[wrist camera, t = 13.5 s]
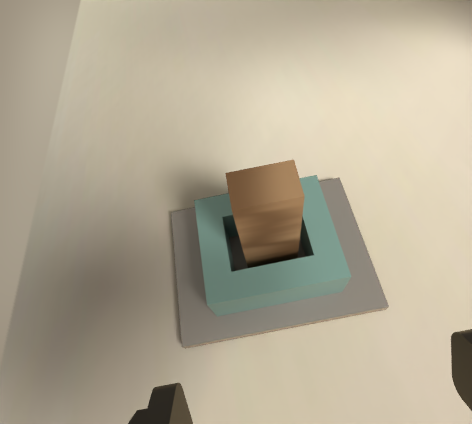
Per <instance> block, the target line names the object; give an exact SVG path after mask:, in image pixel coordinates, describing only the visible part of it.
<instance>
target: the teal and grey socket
mask: <svg viewBox="0 0 472 424" xmlns="http://www.w3.org/2000/svg"><path fill="white" fill-rule="evenodd" d="M300 182H301V186H302V189H303V193H304V196H305V197H304V206H303V215H302V224H301V232H300V241H299V250H298V258H297V259H292V260H287V261H282V262H277V263H272V264H267V265H262V266H257V267H252V268H248V266H247V263H246V259H245V256H244V252H243V249H242V245H241V242H240V238H239V234H238V231H237V227H236V224H235V220H234V217H233V213H232V209H231V203H230V197H229V193H227V194H223V195H218V196H213V197H208V198H203V199H198V200H194V202H195V207H194V208H189V209H184V210H180V211H175V212H171V218H172V230H173V243H174V255H175V267H176V280H177V292H178V304H179V317H180V329H181V342H182V347H183V348H190V347H196V346H201V345H206V344H211V343H216V342H221V341H226V340H232V339H237V338H242V337H247V336H252V335H257V334H262V333H268V332H273V331H278V330H283V329H288V328H293V327H298V326H304V325H309V324H314V323H319V322H324V321H329V320H334V319H340V318H345V317H350V316H355V315H360V314H365V313H370V312H376V311H381V310H385V309H387V308H388V307H389V306H388V303H387V300H386V298H385V295H384V293H383V290H382V287H381V285H380V282H379V280H378V277H377V274H376V272H375V269H374V267H373V264H372V261H371V259H370V256H369V254H368V251H367V248H366V246H365V243H364V240H363V238H362V235H361V233H360V230H359V227H358V225H357V222H356V220H355V217H354V214H353V212H352V209H351V207H350V204H349V201H348V199H347V196H346V194H345V191H344V188H343V186H342V183H341V181H340V178H335V179H330V180H325V181H320V182H319V181H318V178H317V175H314V176H310V177H305V178H300Z"/></svg>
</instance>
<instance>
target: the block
mask: <svg viewBox="0 0 472 424" xmlns="http://www.w3.org/2000/svg"><path fill="white" fill-rule="evenodd" d="M226 179H227V185H228V191H229V197H230V203H231V209H232V213H233V217H234V220H235V224H236V227H237V231H238V234H239V238H240V242H241V245H242V249H243V252H244V256H245V259H246V263H247V266H248V268H252V267H257V266H262V265H267V264H272V263H277V262H282V261H287V260H292V259H297V258H298V250H299V241H300V232H301V224H302V215H303V206H304V197H305V196H304V193H303V189H302V186H301V182H300V179H299V176H298V172H297V169H296V165H295V162H294V160H290V161H285V162H279V163H274V164H269V165H264V166H259V167H254V168H249V169H244V170H239V171H234V172H229V173H226Z"/></svg>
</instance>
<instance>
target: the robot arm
mask: <svg viewBox="0 0 472 424" xmlns="http://www.w3.org/2000/svg"><path fill="white" fill-rule="evenodd" d="M451 355H452V378H453V382H454V385H455V387H456V390H457V392H458V393H459V395H460V397H461V398H462V400H463V401H464V402H465V403H466V404H467V406H468V407H469V408H470V409H471V411H472V329H470V330H465V331H460V332H455V333H453V334H452V336H451ZM128 424H193V422H192V418H191V415H190V412H189V408H188V405H187V402H186V398H185V395H184V392H183V389H182V386H181V384H180V383H175V384H169V385H164V386H159V387H155V388H154V389H153V391H152V394H151V397H150V401H149V405H148V408H147V409H143V410H137V411H136V413H135V414H134V416H133V417H132V419H131V420H130V421H129V423H128Z"/></svg>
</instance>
